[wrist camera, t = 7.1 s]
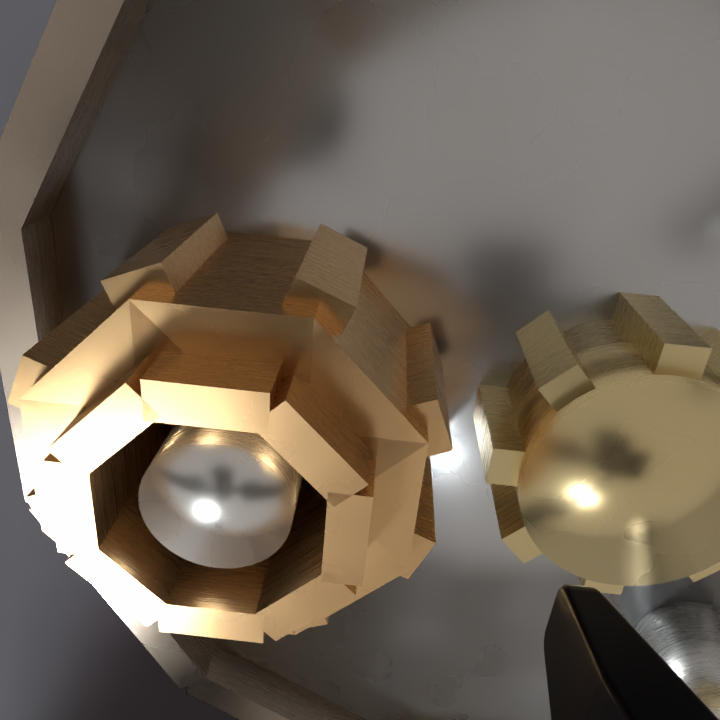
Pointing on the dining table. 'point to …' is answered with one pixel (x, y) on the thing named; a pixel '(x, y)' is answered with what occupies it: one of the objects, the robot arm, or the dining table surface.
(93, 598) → the dining table surface
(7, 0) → the dining table surface
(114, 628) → the dining table surface
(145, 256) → the planet gear
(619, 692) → the robot arm
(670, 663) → the carrier
